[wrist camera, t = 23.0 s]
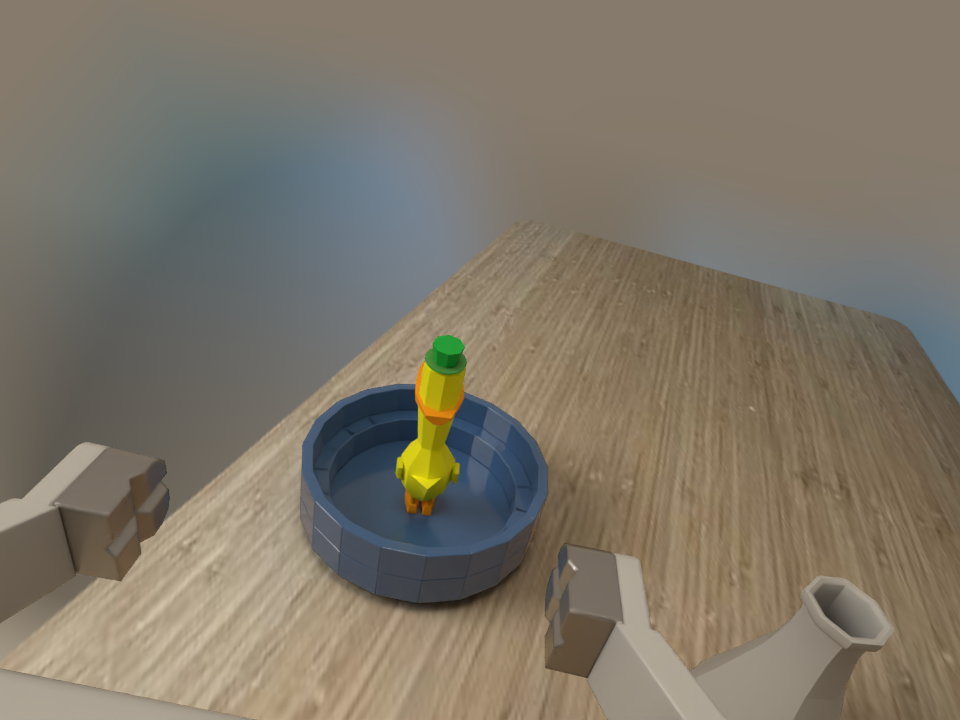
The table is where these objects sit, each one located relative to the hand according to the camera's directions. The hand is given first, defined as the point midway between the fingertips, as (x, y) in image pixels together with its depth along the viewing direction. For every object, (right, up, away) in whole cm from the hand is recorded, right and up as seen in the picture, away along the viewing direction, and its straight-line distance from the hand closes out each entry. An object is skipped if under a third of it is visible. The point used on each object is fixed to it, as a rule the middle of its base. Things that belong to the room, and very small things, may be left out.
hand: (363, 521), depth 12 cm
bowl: (-1, -6, +25) cm, 26 cm away
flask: (+15, -15, +17) cm, 27 cm away
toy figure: (-1, -6, +25) cm, 26 cm away
